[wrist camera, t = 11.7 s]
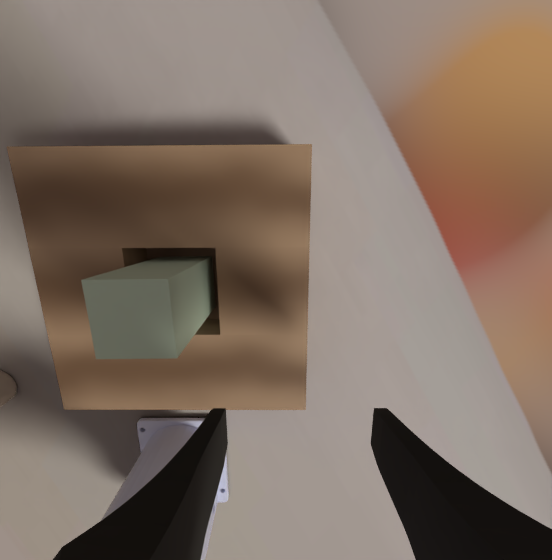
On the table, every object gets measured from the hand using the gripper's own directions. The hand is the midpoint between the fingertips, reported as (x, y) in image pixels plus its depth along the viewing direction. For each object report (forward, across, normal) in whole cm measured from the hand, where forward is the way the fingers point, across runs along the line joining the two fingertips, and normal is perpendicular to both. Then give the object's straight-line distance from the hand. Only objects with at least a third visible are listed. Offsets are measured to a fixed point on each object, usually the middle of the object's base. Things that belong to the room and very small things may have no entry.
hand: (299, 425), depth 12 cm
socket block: (+10, +8, -5) cm, 14 cm away
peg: (+9, +8, -5) cm, 13 cm away
